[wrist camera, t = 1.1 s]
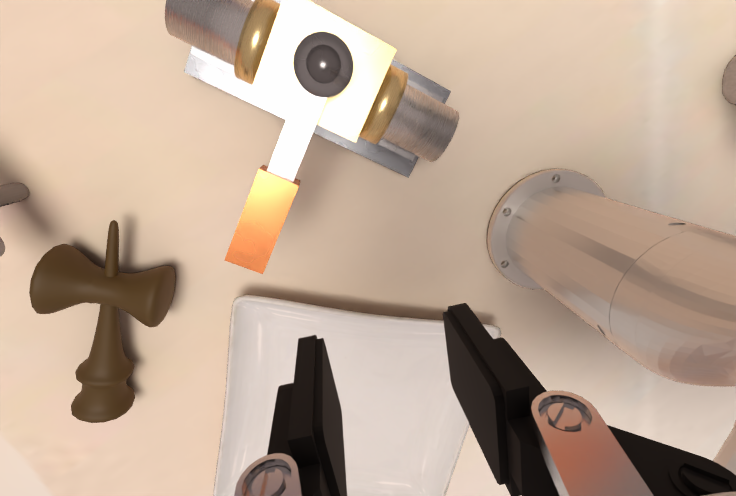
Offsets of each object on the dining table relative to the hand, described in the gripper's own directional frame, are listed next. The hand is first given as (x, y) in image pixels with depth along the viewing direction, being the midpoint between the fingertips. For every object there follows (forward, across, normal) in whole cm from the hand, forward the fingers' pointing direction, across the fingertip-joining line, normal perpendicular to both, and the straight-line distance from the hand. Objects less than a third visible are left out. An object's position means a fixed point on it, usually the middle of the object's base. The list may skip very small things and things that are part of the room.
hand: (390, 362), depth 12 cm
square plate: (+26, +4, +24) cm, 35 cm away
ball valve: (+25, 0, -10) cm, 27 cm away
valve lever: (+14, +3, -6) cm, 15 cm away
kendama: (+26, +24, +7) cm, 35 cm away
